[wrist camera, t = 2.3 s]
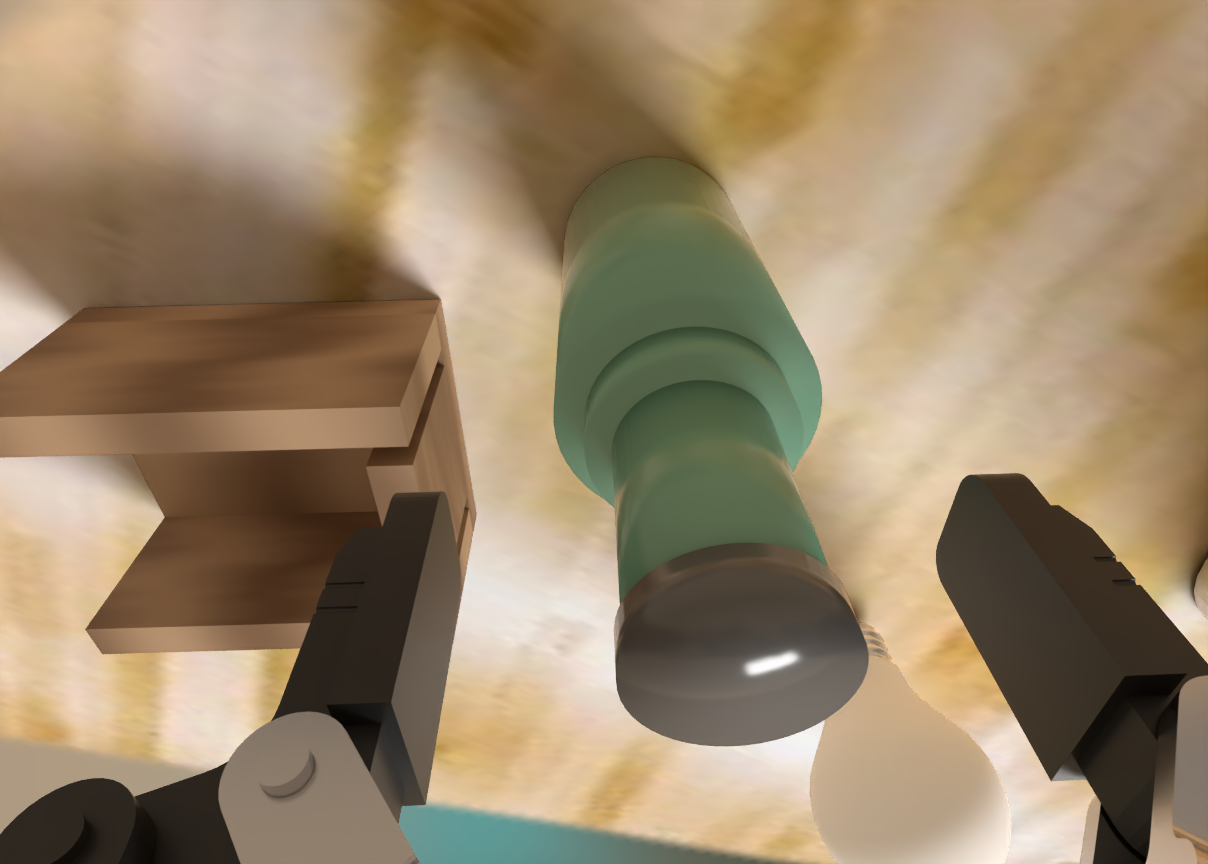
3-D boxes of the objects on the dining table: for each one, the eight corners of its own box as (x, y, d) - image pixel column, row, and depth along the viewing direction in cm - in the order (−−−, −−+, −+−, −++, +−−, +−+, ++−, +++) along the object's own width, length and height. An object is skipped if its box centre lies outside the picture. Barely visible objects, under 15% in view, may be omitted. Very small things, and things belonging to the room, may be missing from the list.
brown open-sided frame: (440, 299, 22) (399, 406, 17) (476, 514, 27) (452, 643, 22) (83, 308, 22) (-61, 418, 17) (189, 522, 27) (102, 654, 22)
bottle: (747, 154, 19) (1009, 521, 7) (730, 323, 23) (898, 777, 10) (559, 158, 19) (520, 535, 7) (568, 327, 22) (550, 788, 10)
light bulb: (751, 602, 30) (821, 883, 21) (907, 560, 29) (1050, 841, 20) (785, 686, 34) (857, 957, 25) (925, 652, 33) (1053, 925, 24)
